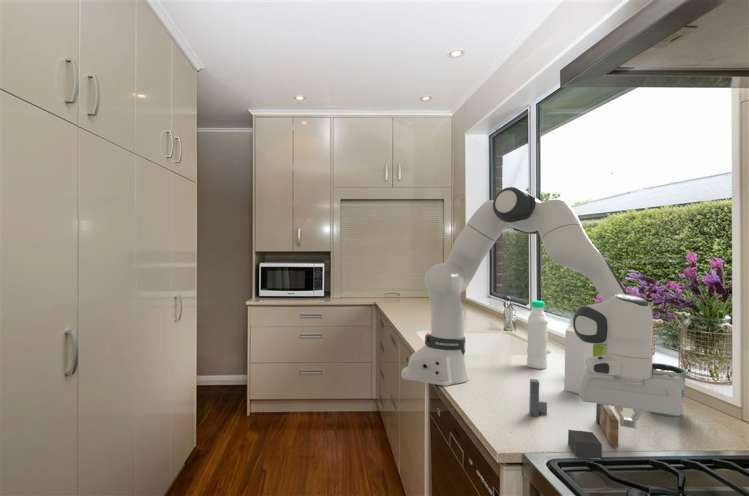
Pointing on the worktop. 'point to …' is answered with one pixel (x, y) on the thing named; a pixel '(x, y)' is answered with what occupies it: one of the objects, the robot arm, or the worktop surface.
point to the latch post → (536, 400)
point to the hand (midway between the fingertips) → (627, 426)
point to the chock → (584, 444)
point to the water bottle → (537, 336)
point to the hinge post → (597, 413)
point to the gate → (609, 424)
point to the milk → (575, 358)
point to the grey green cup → (678, 371)
